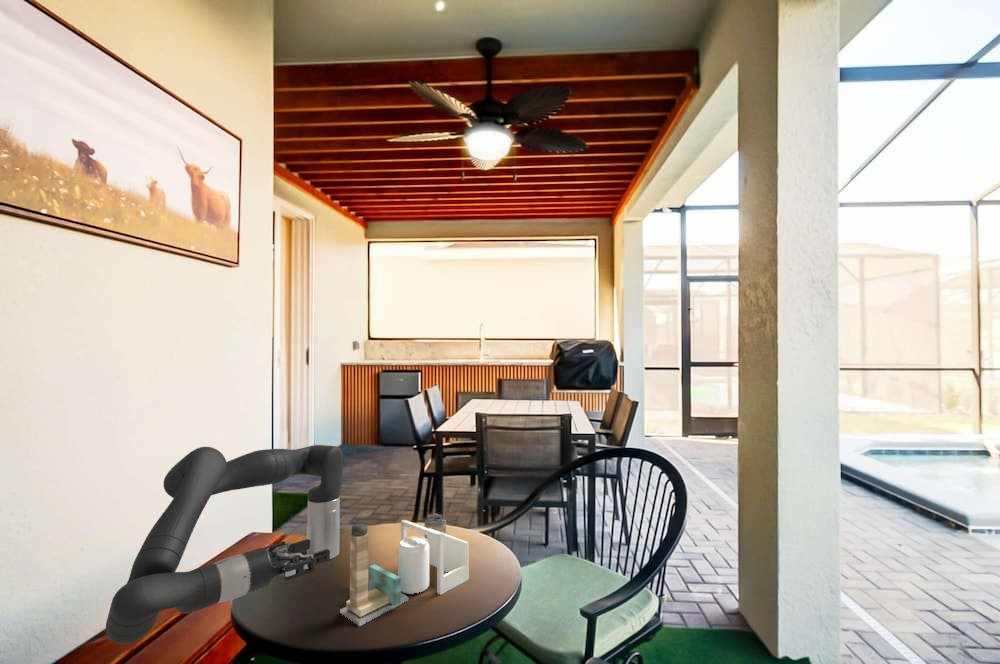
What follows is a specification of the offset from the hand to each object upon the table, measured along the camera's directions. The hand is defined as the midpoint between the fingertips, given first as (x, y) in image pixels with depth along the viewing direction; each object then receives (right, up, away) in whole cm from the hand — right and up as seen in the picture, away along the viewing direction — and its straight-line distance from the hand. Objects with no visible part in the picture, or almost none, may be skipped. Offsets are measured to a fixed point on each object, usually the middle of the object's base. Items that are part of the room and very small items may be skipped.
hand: (318, 548), depth 103 cm
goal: (+22, -20, +25) cm, 39 cm away
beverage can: (+17, -20, +20) cm, 33 cm away
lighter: (+19, -21, +45) cm, 54 cm away
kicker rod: (+9, -18, +9) cm, 22 cm away
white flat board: (+10, -19, +11) cm, 24 cm away
